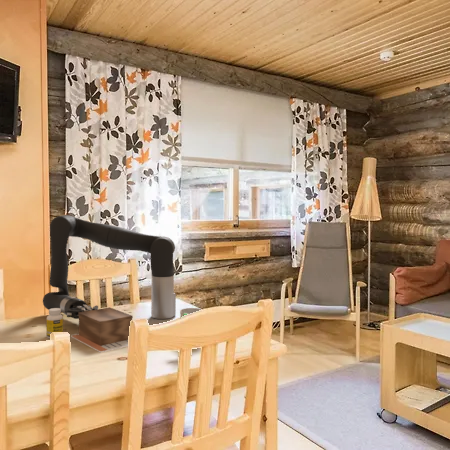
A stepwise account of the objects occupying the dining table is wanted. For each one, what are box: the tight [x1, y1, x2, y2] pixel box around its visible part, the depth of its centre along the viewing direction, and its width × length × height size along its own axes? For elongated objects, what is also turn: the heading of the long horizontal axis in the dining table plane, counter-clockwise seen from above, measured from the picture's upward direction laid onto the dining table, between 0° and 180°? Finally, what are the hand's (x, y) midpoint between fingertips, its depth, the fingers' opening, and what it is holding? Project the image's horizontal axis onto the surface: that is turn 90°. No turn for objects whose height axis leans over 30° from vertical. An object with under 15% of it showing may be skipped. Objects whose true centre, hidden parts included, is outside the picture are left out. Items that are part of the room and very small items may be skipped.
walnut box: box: [78, 306, 133, 346], centre depth 157 cm, size 12×16×8 cm
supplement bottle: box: [46, 308, 64, 339], centre depth 157 cm, size 5×5×10 cm
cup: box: [179, 307, 202, 318], centre depth 156 cm, size 8×8×10 cm
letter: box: [70, 332, 129, 353], centre depth 155 cm, size 16×24×1 cm, turn 43°
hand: (93, 315), depth 163 cm, fingers closed
